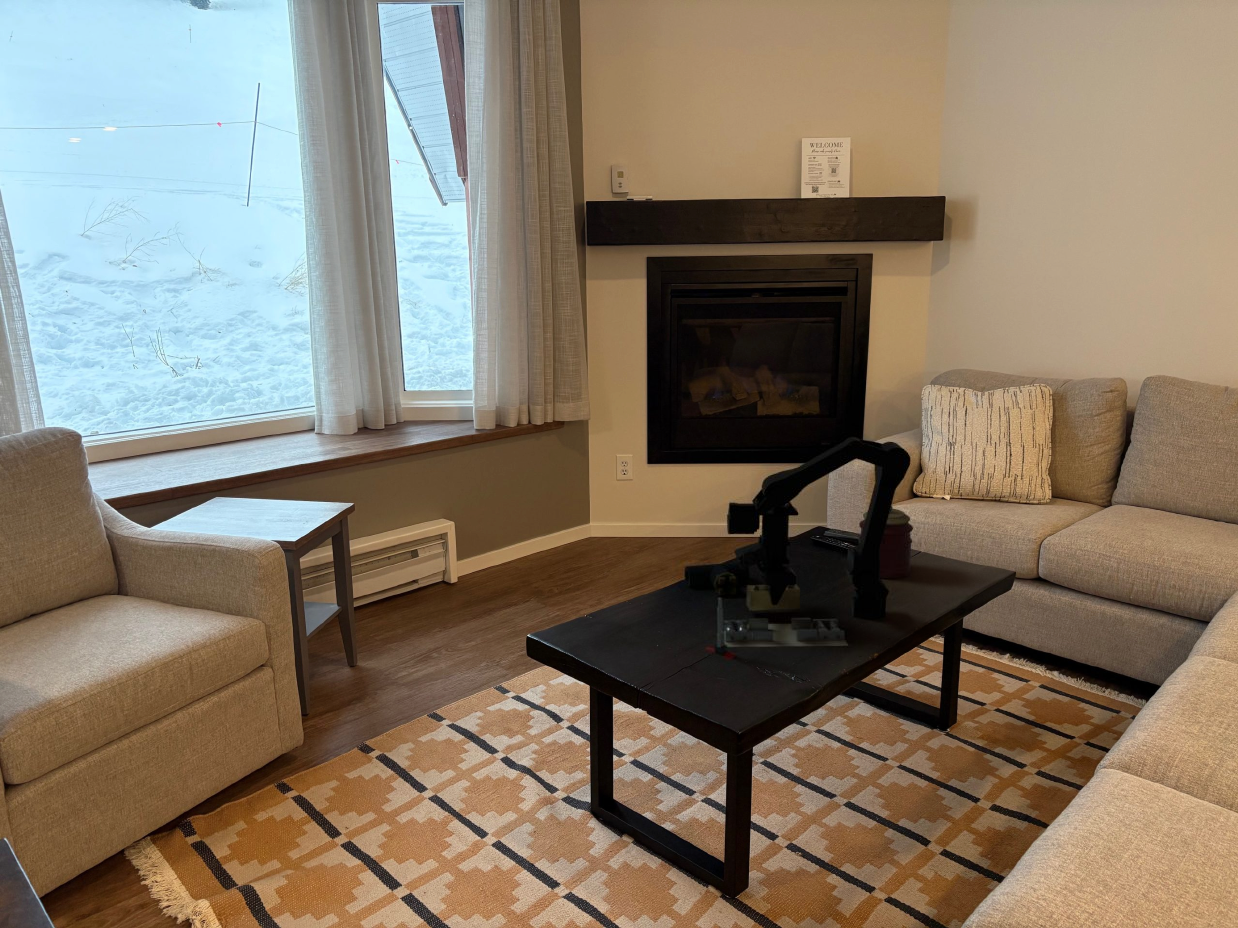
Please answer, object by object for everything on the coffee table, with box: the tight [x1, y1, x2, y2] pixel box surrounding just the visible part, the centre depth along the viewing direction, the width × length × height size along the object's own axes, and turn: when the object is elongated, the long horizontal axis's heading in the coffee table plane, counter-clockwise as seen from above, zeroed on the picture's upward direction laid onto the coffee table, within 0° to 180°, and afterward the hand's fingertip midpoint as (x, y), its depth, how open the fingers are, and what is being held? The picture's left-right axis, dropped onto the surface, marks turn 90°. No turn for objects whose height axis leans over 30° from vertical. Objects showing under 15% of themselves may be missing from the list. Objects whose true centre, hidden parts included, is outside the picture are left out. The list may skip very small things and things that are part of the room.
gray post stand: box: [705, 597, 738, 660], centre depth 174 cm, size 8×13×9 cm
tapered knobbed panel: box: [745, 583, 801, 612], centre depth 196 cm, size 11×4×5 cm, turn 95°
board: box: [724, 623, 850, 648], centre depth 186 cm, size 25×11×1 cm, turn 90°
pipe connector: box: [684, 561, 750, 596], centre depth 215 cm, size 12×5×15 cm
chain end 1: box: [723, 617, 773, 642], centre depth 186 cm, size 10×7×2 cm
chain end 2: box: [790, 617, 846, 641], centre depth 186 cm, size 10×7×2 cm
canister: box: [858, 505, 914, 579], centre depth 223 cm, size 13×13×18 cm
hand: (772, 601), depth 196 cm, fingers closed on tapered knobbed panel, 4 cm apart
